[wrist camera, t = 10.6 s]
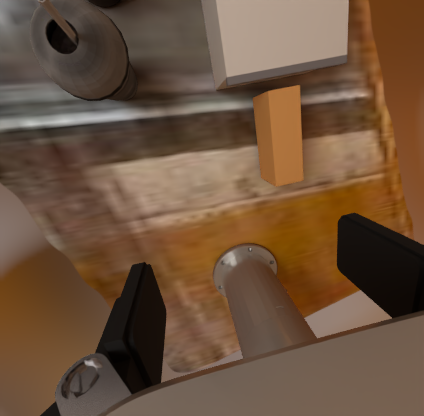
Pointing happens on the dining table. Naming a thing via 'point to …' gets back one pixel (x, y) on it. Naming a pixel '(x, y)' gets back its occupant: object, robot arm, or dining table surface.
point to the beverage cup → (82, 50)
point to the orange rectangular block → (279, 135)
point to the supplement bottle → (104, 2)
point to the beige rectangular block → (273, 38)
